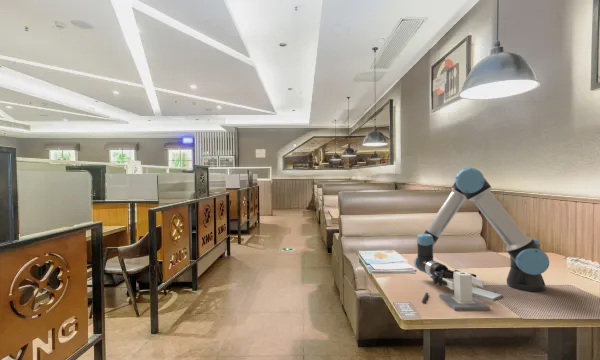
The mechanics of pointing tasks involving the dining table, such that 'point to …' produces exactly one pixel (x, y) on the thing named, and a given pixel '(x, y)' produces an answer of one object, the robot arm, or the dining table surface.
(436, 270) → the robot arm
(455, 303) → the plate
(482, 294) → the hard drive
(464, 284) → the charger brick
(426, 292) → the dark grey rod
